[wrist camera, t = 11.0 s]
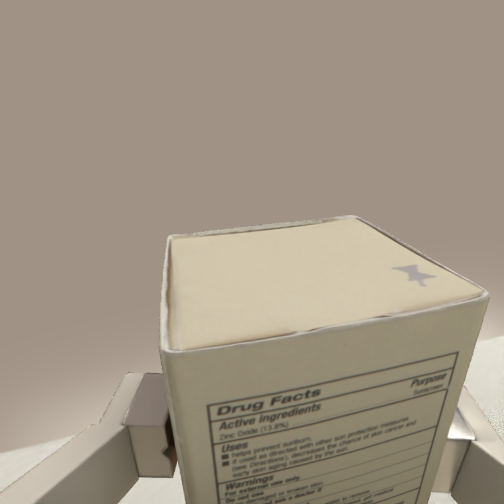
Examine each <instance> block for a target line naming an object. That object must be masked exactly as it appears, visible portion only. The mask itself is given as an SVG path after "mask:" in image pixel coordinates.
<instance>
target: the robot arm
mask: <svg viewBox="0 0 504 504" xmlns="http://www.w3.org/2000/svg"><path fill="white" fill-rule="evenodd" d="M177 461H178V458H177V453H176V447H175V441H174V435H173V429H172V424H171V418H170V413H169V407H168V401H167V395H166V388H165V382H164V377H163V374H160V373H137V372H128V373H127V374H126V375H125V376H124V377H123V379H122V381H121V383H120V385H119V386H118V388H117V390H116V392H115V394H114V396H113V398H112V400H111V401H110V403H109V405H108V407H107V409H106V411H105V413H104V414H103V417H102V418H101V420H100V422H99V424H92V425H90V426H89V427H88V428H86V429H85V430H84V431H82V432H81V433H80V434H78V435H77V436H76V437H74V438H73V439H72V440H70V441H69V442H68V443H66V444H65V445H63V446H62V447H61V448H59V449H58V450H57V451H55V452H54V453H53V454H51V455H50V456H49V457H47V458H46V459H45V460H43V461H42V462H41V463H39V464H38V465H36V466H35V467H34V468H32V469H31V470H30V471H28V472H27V473H26V474H24V475H23V476H22V477H20V478H19V479H18V480H16V481H15V482H14V483H12V484H11V485H9V486H8V487H7V488H5V489H4V490H3V491H1V492H0V504H118V503H119V502H120V500H121V499H122V498H123V497H124V496H125V495H126V494H127V492H128V491H129V490H130V489H131V488H132V487H133V486H134V484H135V483H136V482H137V481H138V480H139V478H138V477H150V478H173V476H174V472H175V468H176V465H177ZM431 492H439V493H451V496H452V497H453V499H454V500H455V501H456V502H457V503H458V504H504V442H503V441H502V440H501V438H500V437H499V435H498V434H497V432H496V431H495V429H494V428H493V426H492V425H491V424H490V422H489V421H488V419H487V418H486V416H485V415H484V413H483V412H482V410H481V409H480V407H479V406H478V404H477V403H476V402H475V400H474V399H473V397H472V396H471V394H470V393H469V391H468V390H467V388H466V387H465V386H463V388H462V391H461V394H460V398H459V401H458V405H457V408H456V411H455V414H454V418H453V421H452V424H451V427H450V430H449V434H448V438H447V441H446V445H445V448H444V451H443V455H442V458H441V461H440V465H439V468H438V471H437V474H436V478H435V481H434V484H433V487H432V491H431Z"/></svg>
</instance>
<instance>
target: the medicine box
mask: <svg viewBox="0 0 504 504" xmlns="http://www.w3.org/2000/svg"><path fill="white" fill-rule="evenodd" d="M488 303H489V293H488V292H487V291H486V290H485V289H483V288H482V287H480V286H478V285H477V284H475V283H474V282H472V281H470V280H468V279H466V278H464V277H462V276H461V275H459V274H457V273H455V272H454V271H452V270H450V269H448V268H447V267H445V266H444V265H442V264H440V263H438V262H437V261H435V260H433V259H431V258H429V257H428V256H426V255H425V254H423V253H421V252H420V251H418V250H417V249H415V248H413V247H411V246H410V245H408V244H406V243H404V242H402V241H401V240H399V239H397V238H396V237H394V236H392V235H391V234H389V233H387V232H386V231H384V230H382V229H380V228H378V227H377V226H375V225H373V224H371V223H369V222H367V221H365V220H363V219H362V218H360V217H357V216H341V217H332V218H327V219H316V220H309V221H298V222H289V223H277V224H268V225H259V226H251V227H237V228H231V229H221V230H213V231H204V232H199V233H188V234H183V235H182V234H180V235H169V236H168V238H167V241H166V251H165V258H164V267H163V274H162V287H161V303H160V325H159V352H160V359H161V365H162V370H163V377H164V382H165V388H166V395H167V401H168V407H169V413H170V418H171V424H172V429H173V435H174V441H175V447H176V453H177V458H178V464H179V469H180V474H181V479H182V485H183V490H184V495H185V501H186V504H428V500H429V497H430V493H431V491H432V487H433V484H434V481H435V478H436V474H437V471H438V468H439V465H440V461H441V458H442V455H443V451H444V448H445V445H446V441H447V438H448V434H449V430H450V427H451V424H452V421H453V418H454V414H455V411H456V408H457V405H458V401H459V398H460V394H461V391H462V388H463V384H464V381H465V378H466V374H467V371H468V368H469V365H470V362H471V359H472V356H473V352H474V348H475V345H476V341H477V338H478V336H479V332H480V329H481V326H482V322H483V319H484V315H485V312H486V309H487V306H488Z"/></svg>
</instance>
